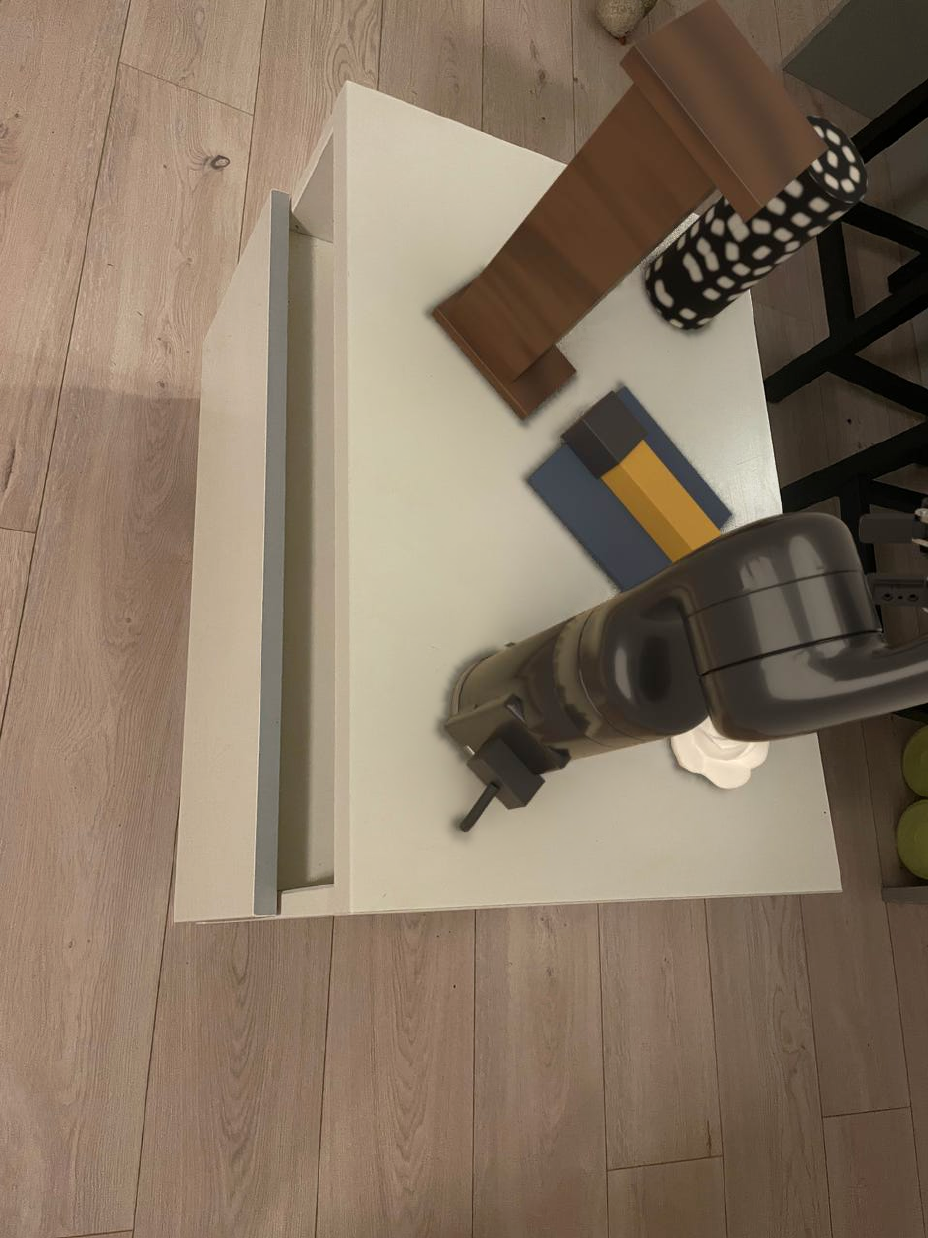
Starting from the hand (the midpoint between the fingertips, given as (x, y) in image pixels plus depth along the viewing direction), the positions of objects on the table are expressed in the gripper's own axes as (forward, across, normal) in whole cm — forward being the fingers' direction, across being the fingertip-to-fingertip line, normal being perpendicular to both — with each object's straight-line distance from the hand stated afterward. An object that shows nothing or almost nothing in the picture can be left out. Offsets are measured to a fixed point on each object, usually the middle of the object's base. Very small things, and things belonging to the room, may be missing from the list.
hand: (861, 557), depth 68 cm
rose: (+11, +1, +18) cm, 21 cm away
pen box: (+17, -12, +2) cm, 21 cm away
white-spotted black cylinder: (+17, -34, -10) cm, 40 cm away
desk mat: (+19, -12, +1) cm, 22 cm away
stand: (+30, -14, -13) cm, 35 cm away
